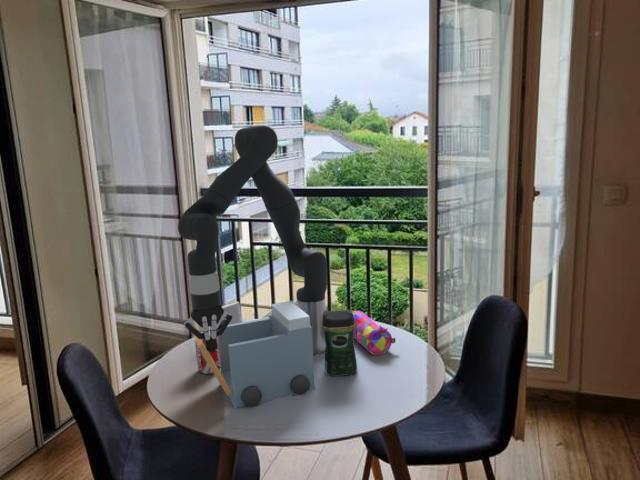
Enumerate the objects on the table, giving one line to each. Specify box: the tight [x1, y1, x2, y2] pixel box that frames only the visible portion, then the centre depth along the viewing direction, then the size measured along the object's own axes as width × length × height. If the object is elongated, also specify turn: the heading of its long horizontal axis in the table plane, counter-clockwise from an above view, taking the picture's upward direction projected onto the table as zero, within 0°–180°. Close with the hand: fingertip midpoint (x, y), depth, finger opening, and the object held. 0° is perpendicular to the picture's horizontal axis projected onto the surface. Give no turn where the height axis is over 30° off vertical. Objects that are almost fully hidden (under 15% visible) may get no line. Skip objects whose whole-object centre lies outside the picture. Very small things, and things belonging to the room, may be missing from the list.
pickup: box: [217, 300, 316, 409], centre depth 145 cm, size 22×19×21 cm
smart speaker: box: [216, 301, 243, 330], centre depth 179 cm, size 10×9×14 cm
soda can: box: [194, 329, 221, 375], centre depth 157 cm, size 7×7×12 cm
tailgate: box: [193, 334, 231, 397], centre depth 139 cm, size 2×15×13 cm, turn 23°
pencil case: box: [352, 310, 396, 356], centre depth 172 cm, size 22×9×9 cm, turn 22°
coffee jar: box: [322, 309, 358, 377], centre depth 152 cm, size 10×8×19 cm
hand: (211, 351), depth 139 cm, fingers closed
